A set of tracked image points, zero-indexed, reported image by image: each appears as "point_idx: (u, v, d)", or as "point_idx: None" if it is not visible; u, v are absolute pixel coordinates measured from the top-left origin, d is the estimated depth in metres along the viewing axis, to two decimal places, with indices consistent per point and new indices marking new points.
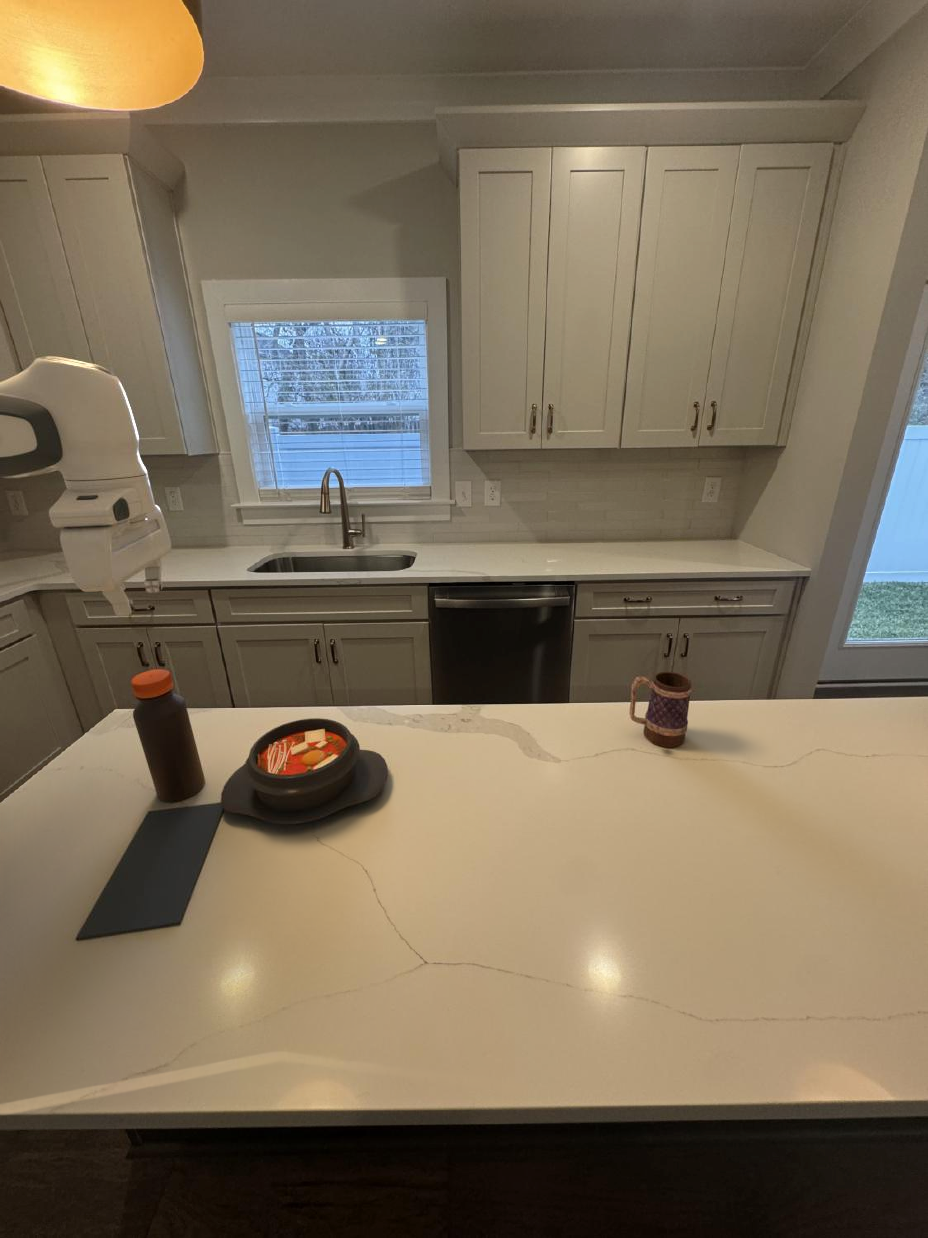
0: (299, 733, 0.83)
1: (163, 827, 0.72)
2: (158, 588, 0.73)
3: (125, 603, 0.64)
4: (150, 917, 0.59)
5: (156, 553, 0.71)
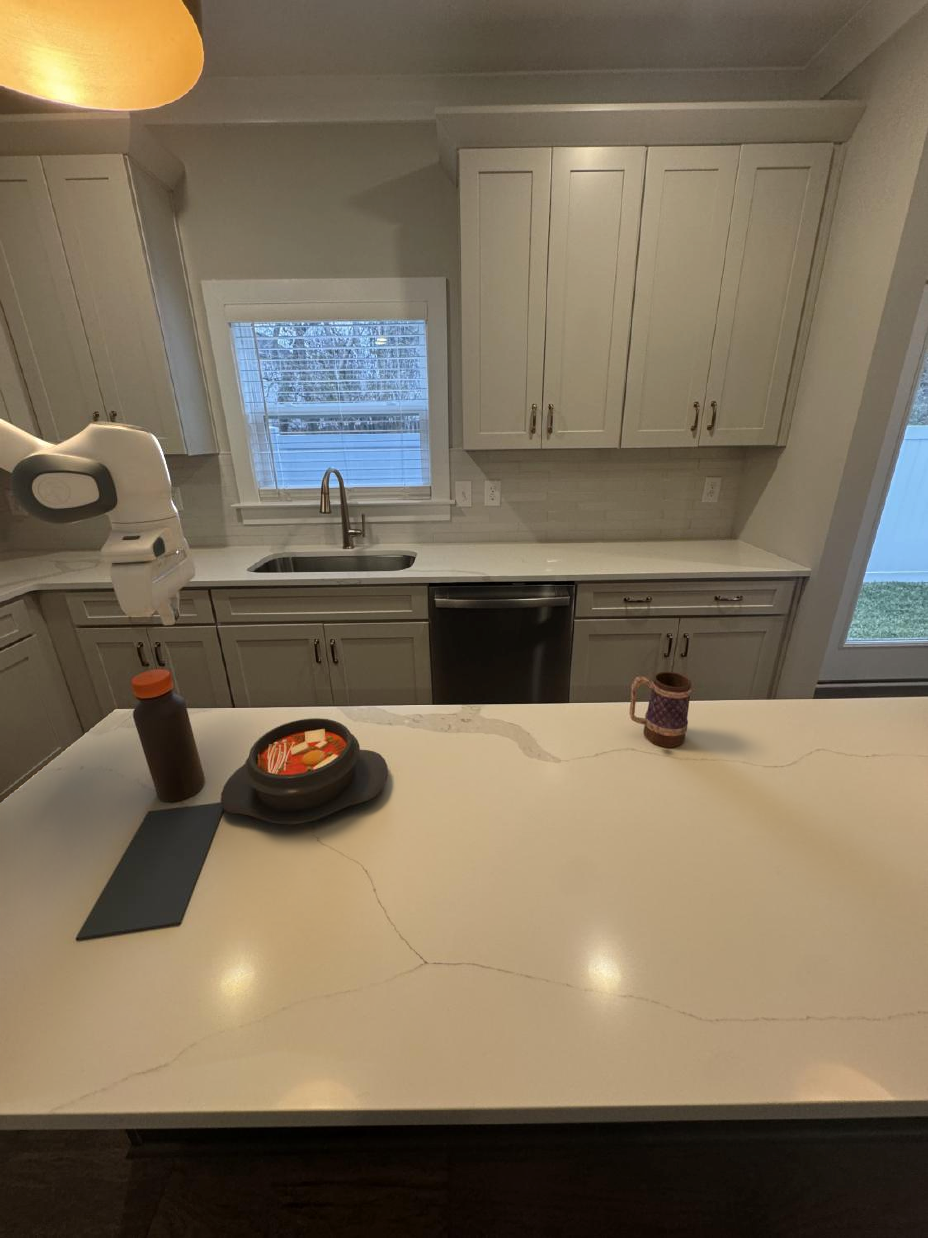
0: (299, 733, 0.83)
1: (163, 827, 0.72)
2: (177, 617, 0.81)
3: (170, 614, 0.80)
4: (150, 917, 0.59)
5: (184, 579, 0.83)
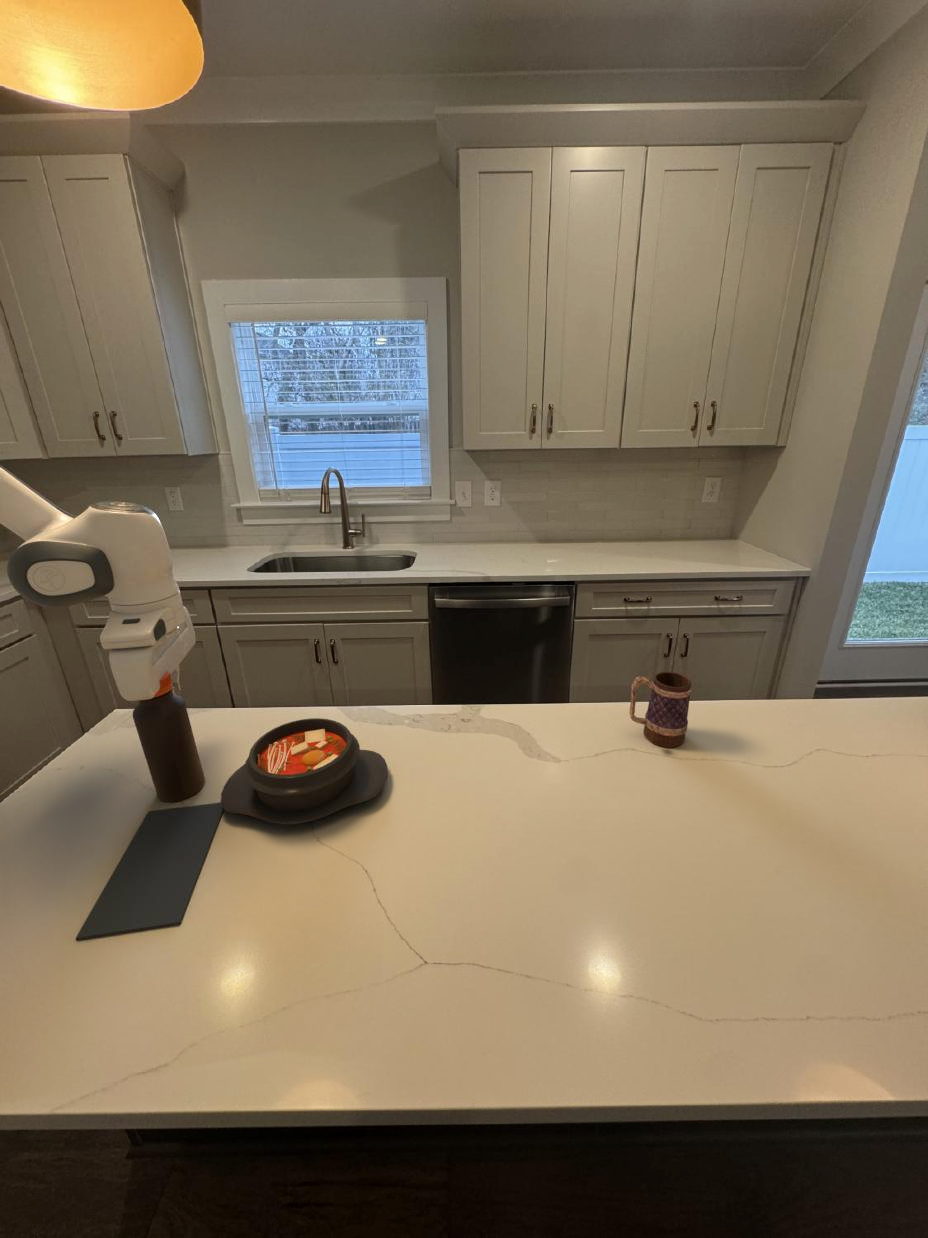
0: (299, 733, 0.83)
1: (163, 827, 0.72)
2: (177, 691, 0.80)
3: None
4: (150, 917, 0.59)
5: (184, 650, 0.81)
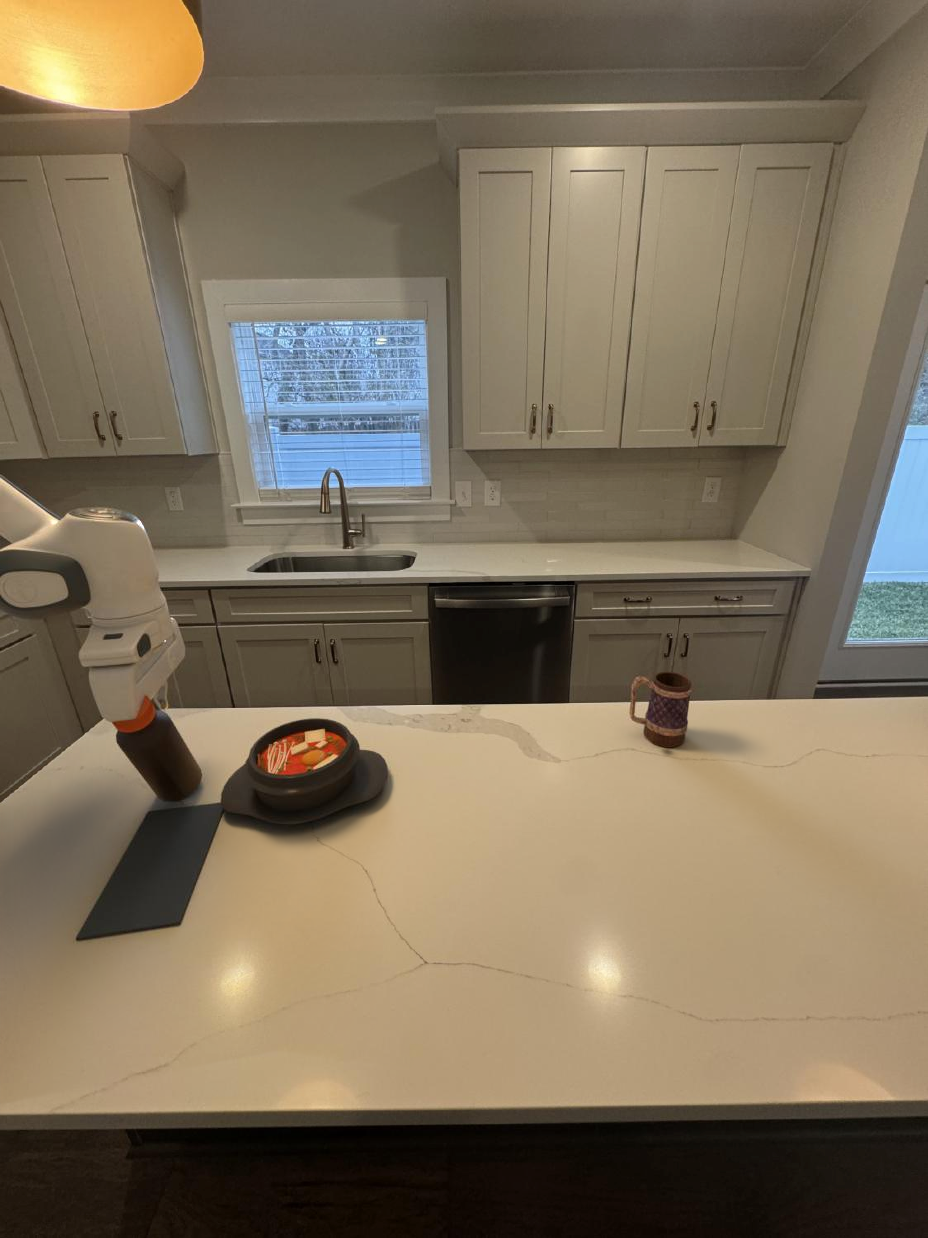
0: (299, 733, 0.83)
1: (163, 827, 0.72)
2: (164, 709, 0.75)
3: (157, 708, 0.73)
4: (150, 917, 0.59)
5: (172, 665, 0.76)
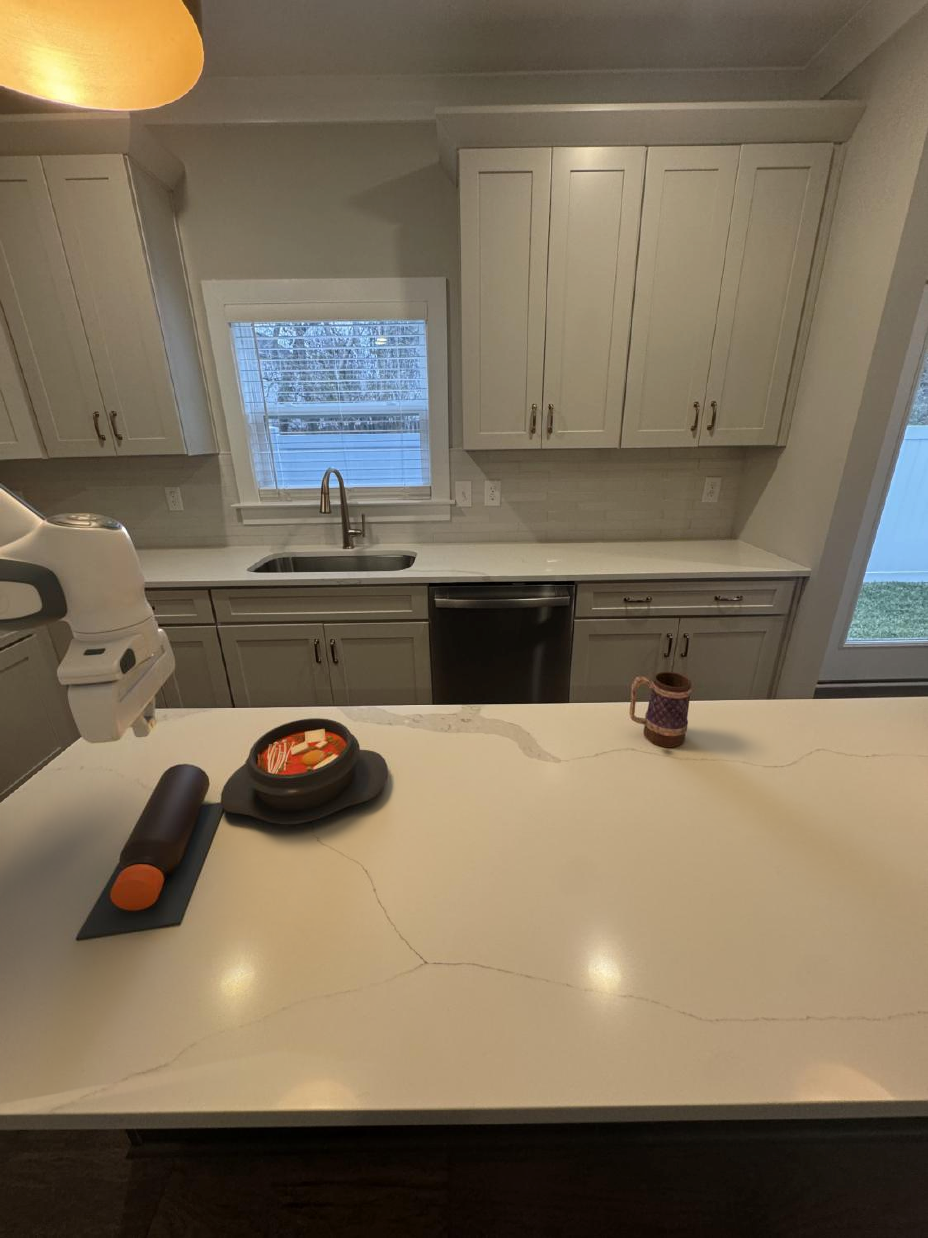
0: (299, 733, 0.83)
1: None
2: (152, 726, 0.71)
3: (144, 726, 0.69)
4: (150, 917, 0.59)
5: (161, 679, 0.72)
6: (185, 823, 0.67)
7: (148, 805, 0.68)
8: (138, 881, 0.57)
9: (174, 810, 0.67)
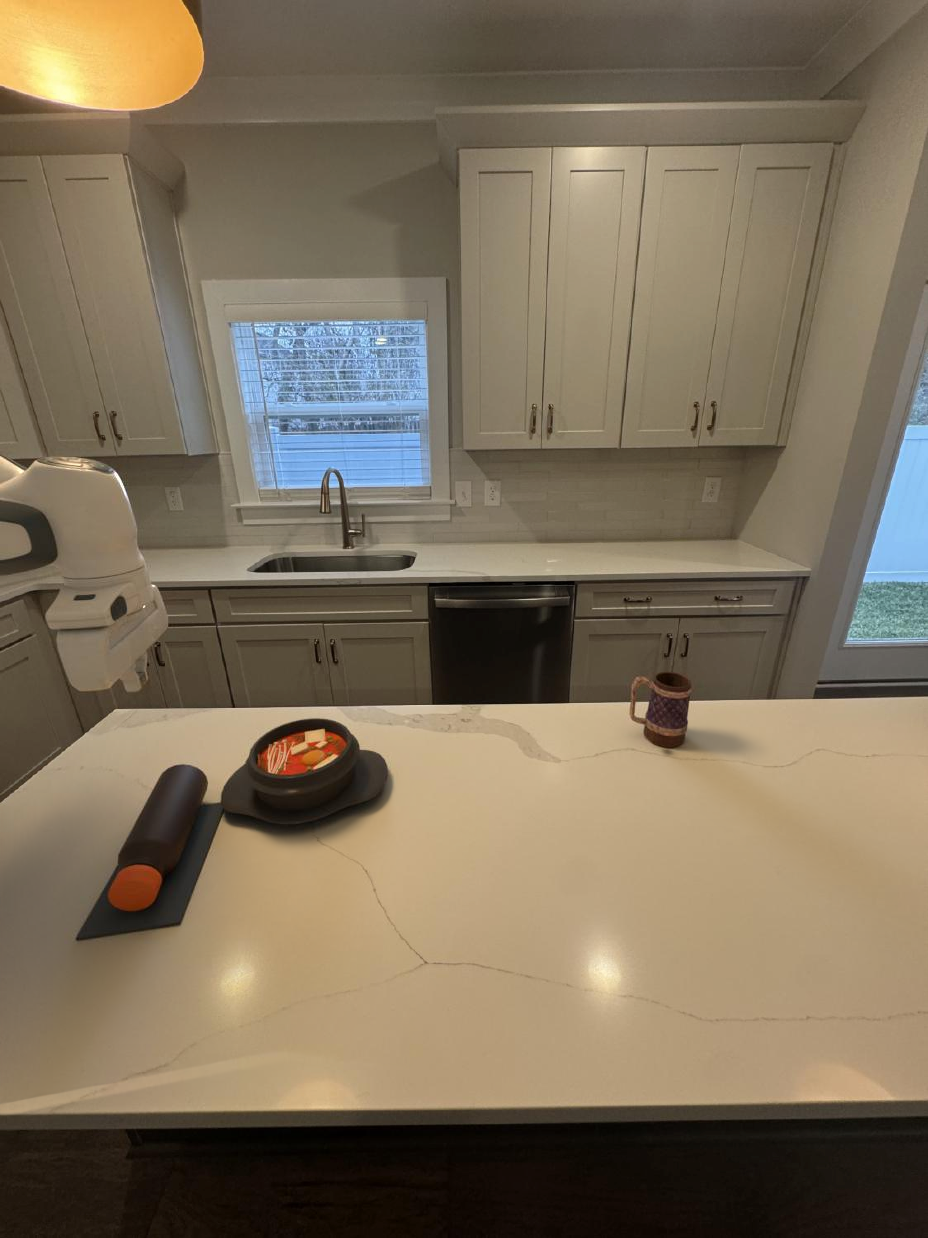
0: (299, 733, 0.83)
1: None
2: (143, 682, 0.69)
3: (135, 680, 0.67)
4: (150, 917, 0.59)
5: (153, 635, 0.71)
6: (183, 822, 0.67)
7: (145, 806, 0.68)
8: (134, 881, 0.57)
9: (170, 810, 0.66)
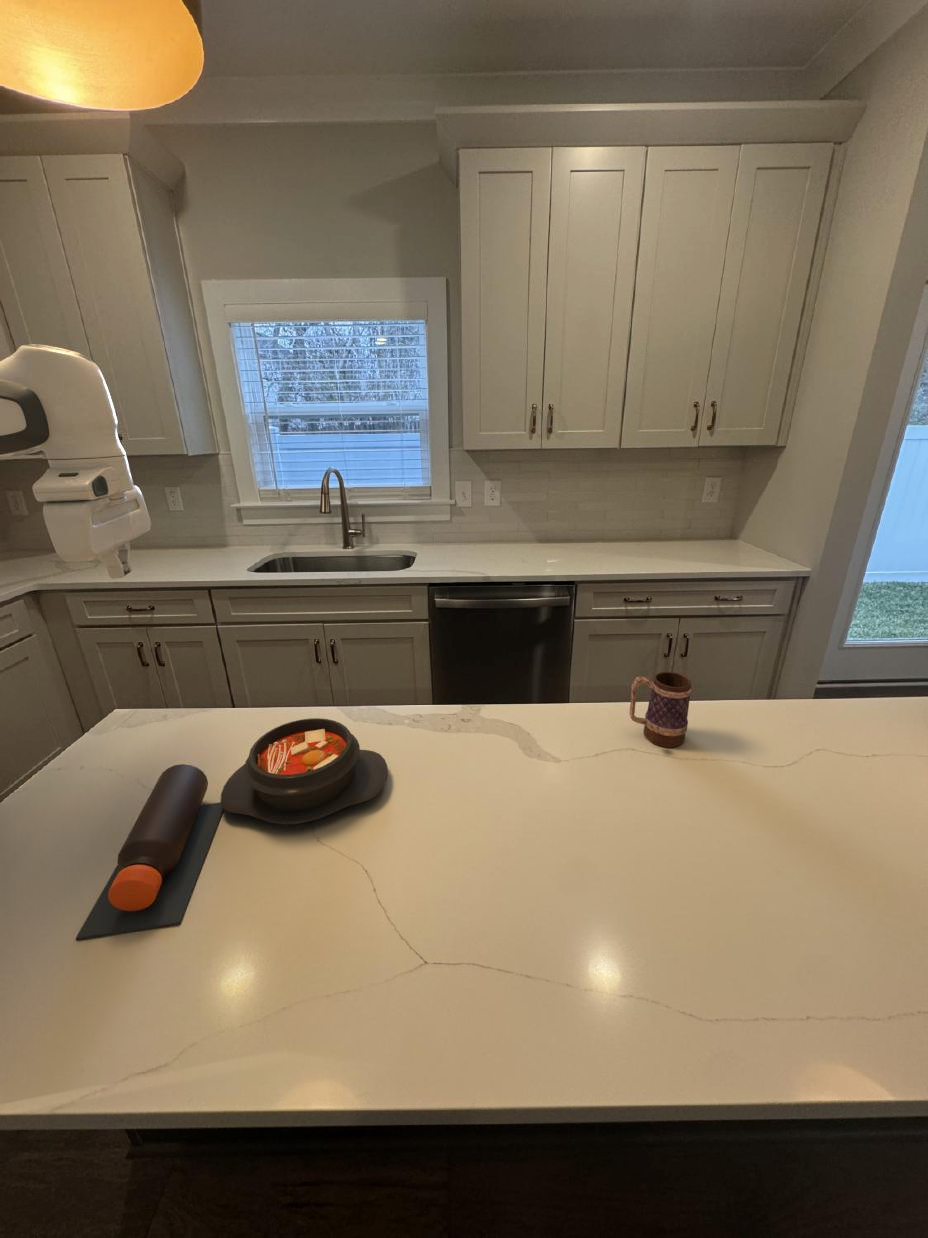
0: (299, 733, 0.83)
1: None
2: (126, 571, 0.75)
3: (118, 566, 0.73)
4: (150, 917, 0.59)
5: (135, 530, 0.76)
6: (182, 822, 0.67)
7: (145, 806, 0.68)
8: (134, 881, 0.57)
9: (170, 810, 0.66)
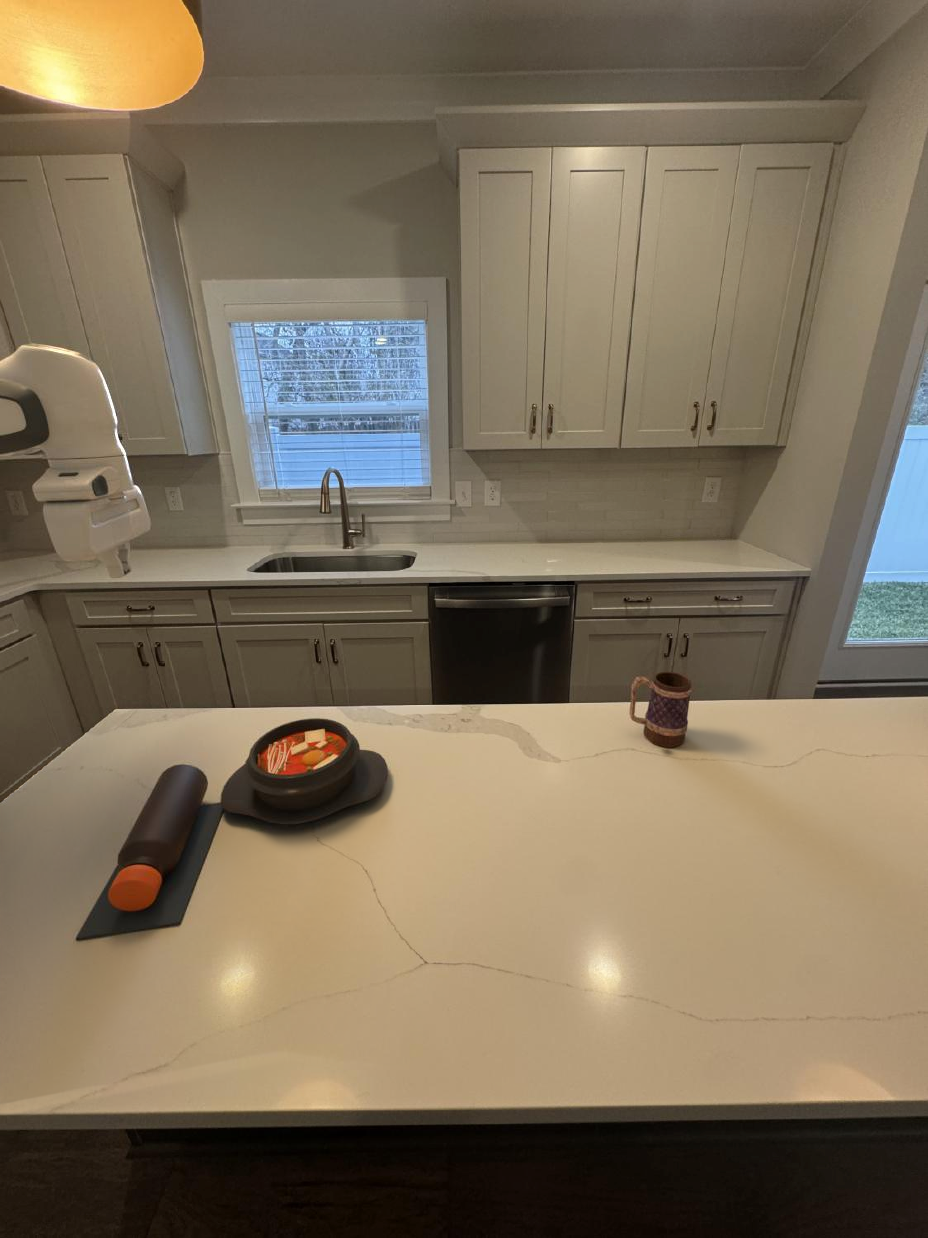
0: (299, 733, 0.83)
1: None
2: (126, 571, 0.75)
3: (118, 566, 0.73)
4: (150, 917, 0.59)
5: (135, 530, 0.76)
6: (182, 822, 0.67)
7: (145, 806, 0.68)
8: (134, 881, 0.57)
9: (170, 810, 0.66)
